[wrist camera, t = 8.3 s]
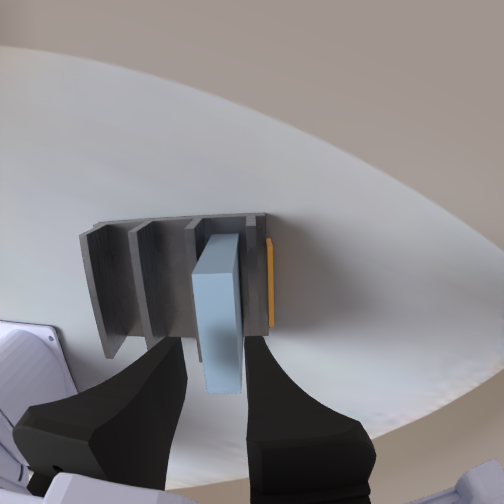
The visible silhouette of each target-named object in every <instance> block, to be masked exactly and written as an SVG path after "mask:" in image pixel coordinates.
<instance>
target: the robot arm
mask: <svg viewBox="0 0 504 504" xmlns="http://www.w3.org/2000/svg"><path fill="white" fill-rule="evenodd" d="M51 336H52V337H53V338H52V337H51ZM244 350H245V367H246V383H247V398H248V424H247V437H246V442H247V454H248V466H249V477H250V503H251V504H371V502H370V498H369V495H370V491H371V490H370V487H369V483H368V479H369V477H370V474H371V472H372V469H373V467H374V464H375V460H376V453H375V449H374V446H373V444H372V441H371V439H370V438H369V436H368V434H367V432H366V431H365V429H364V428H363V426H362V425H361V423H360V422H359V421H357V420H354V419H352V418H349V417H347V416H345V415H342V414H340V413H337V412H335V411H334V410H332V409H330V408H328V407H326V406H324V405H323V404H321V403H320V402H318V401H317V400H315V399H314V398H312V397H311V396H309V395H308V394H307V393H306V392H304V391H303V390H302V389H301V388H300V387H299V386H298V385H297V384H296V383H295V382H294V381H293V380H292V379H291V378H290V377H289V376H288V375H287V374H286V373H285V372H284V370H283V369H282V368H281V367H280V365H279V364H278V362H277V361H276V360H275V358H274V357H273V355H272V354H271V352H270V350H269V348H268V347H267V345H266V342H265V340H264V338H263V337H262V336H245V340H244ZM187 380H188V377H187V371H186V366H185V360H184V354H183V348H182V342H181V337H165V338H163V339H162V340H161V341H159V342H158V343H157V344H156V345H155V346H153V347H152V348H151V349H150V350H149V351H147V352H146V353H145V354H144V355H143V356H141V357H140V358H139V359H138V360H136V361H135V362H134V363H132V364H131V365H129V366H128V367H127V368H125V369H124V370H123V371H121V372H120V373H118V374H117V375H115V376H113V377H112V378H110V379H108V380H106V381H105V382H103V383H101V384H99V385H97V386H95V387H93V388H90V389H88V390H86V391H84V392H81V393H79V394H78V393H77V390H76V388H75V385H74V383H73V380H72V377H71V375H70V372H69V369H68V367H67V364H66V361H65V358H64V355H63V352H62V349H61V346H60V343H59V340H58V337H57V334H56V331H55V329H54V328H53V327H51V326H43V325H32V324H22V323H13V322H5V321H0V504H199V503H198V502H196V501H194V500H192V499H189V498H187V497H185V496H183V495H180V494H174V493H170V492H166V491H165V482H166V474H167V467H168V460H169V454H170V448H171V444H172V440H173V437H174V433H175V430H176V427H177V423H178V420H179V417H180V413H181V410H182V407H183V403H184V400H185V394H186V387H187ZM26 466H30V467H31V468H32V470H33V471H34V474H33V476H32V478H31V479H30V481H29V471H28V468H27V467H26ZM405 504H504V470H503V468H502V467H501V465H500V464H499V462H498V461H497V459H496V458H495V459H492V460H489V461H487V462H485V463H483V464H481V465H478V466H476V467H474V468H472V469H470V470H468V471H467V472H465V473H464V474H463V475H462V476H461V477H460V478H459V480H458V482H457V483H456V485H455V486H454V487H452V488H449V489H446V490H444V491H441V492H439V493H435V494H433V495H430V496H427V497H424V498H421V499H418V500H414V501H411V502H408V503H405Z"/></svg>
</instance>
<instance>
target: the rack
mask: <svg viewBox="0 0 504 504" xmlns="http://www.w3.org/2000/svg"><path fill="white" fill-rule="evenodd" d="M234 233H239V247H240V266H241V283H242V301H243V318H244V333H243V337H244V336H268V320H269V327H274V279H273V245H272V241H271V238H266V218H265V213H243V214H221V215H200V216H182V217H166V218H150V219H135V220H122V221H109V222H99V223H97V224H95V225H93V229H91V230H89V231H87V232H85V233H83V234H81V235H79V239H80V245H81V251H82V257H83V263H84V269H85V274H86V279H87V284H88V289H89V294H90V298H91V303H92V307H93V311H94V316H95V320H96V324H97V328H98V331H99V335H100V339H101V343H102V346H103V350H104V353H105V357H106V358H108V359H113V358H114V356H115V354H116V353H117V351H118V350H119V348H120V347H121V345H122V343H123V342H124V340H125V339H126V337H127V336H144V337H145V340H146V344H147V349H148V351H149V350H150V349H151V348H152V347H153V346H155V345H156V344H157V343H158V342H159V341H161V340H162V339H163V338H165V337H196V340H197V348H198V355H199V362H203V361H202V354H201V347H200V340H199V332H198V325H197V317H196V309H195V300H194V292H193V283H192V273H193V271H194V269H195V267H196V265H197V263H198V261H199V259H200V257H201V255H202V253H203V251H204V249H205V247H206V245H207V243H208V241H209V239H210V237H211V235H212V234H234Z"/></svg>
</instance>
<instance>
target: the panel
mask: <svg viewBox="0 0 504 504" xmlns="http://www.w3.org/2000/svg"><path fill="white" fill-rule="evenodd" d="M192 283H193V292H194V300H195V309H196V317H197V325H198V332H199V340H200V347H201V354H202V361H203V368H204V375H205V381H206V388H207V393H241V386H242V359H243V333H244V318H243V301H242V283H241V266H240V247H239V233H234V234H212V235H211V237H210V239H209V241H208V243H207V245H206V247H205V249H204V251H203V253H202V255H201V257H200V259H199V261H198V263H197V265H196V267H195V269H194V271H193V273H192Z"/></svg>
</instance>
